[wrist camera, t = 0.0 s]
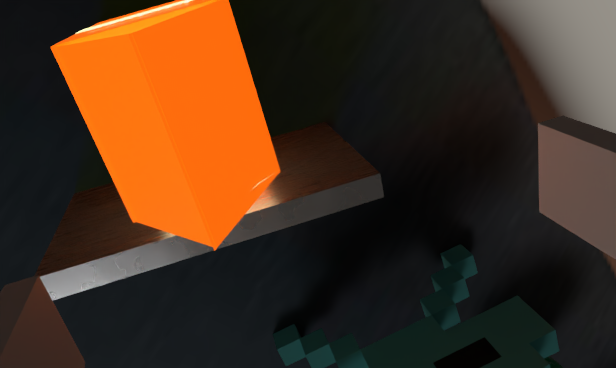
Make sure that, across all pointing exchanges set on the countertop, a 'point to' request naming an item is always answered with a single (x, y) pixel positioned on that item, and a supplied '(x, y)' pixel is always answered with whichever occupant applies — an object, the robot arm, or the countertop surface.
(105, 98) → the orange juice
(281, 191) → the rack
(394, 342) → the alien figure
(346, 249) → the countertop surface
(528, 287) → the countertop surface
